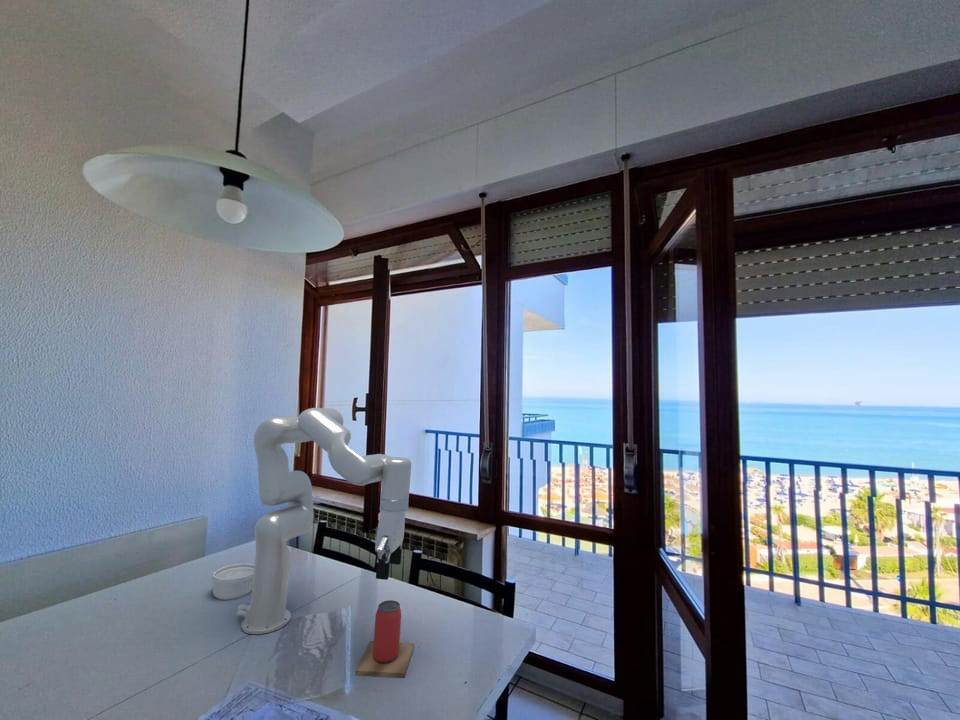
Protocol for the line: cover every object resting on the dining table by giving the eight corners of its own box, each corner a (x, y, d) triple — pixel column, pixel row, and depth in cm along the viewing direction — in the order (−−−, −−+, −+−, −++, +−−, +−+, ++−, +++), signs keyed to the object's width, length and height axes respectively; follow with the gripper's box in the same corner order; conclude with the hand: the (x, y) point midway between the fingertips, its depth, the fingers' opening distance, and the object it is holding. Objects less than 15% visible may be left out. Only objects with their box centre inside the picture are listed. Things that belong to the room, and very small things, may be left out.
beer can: (392, 666, 94) (395, 613, 95) (367, 661, 95) (371, 609, 97) (402, 650, 100) (405, 601, 102) (379, 646, 101) (382, 597, 103)
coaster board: (354, 675, 91) (355, 670, 91) (369, 644, 103) (370, 641, 103) (404, 677, 91) (404, 673, 91) (413, 647, 103) (413, 643, 103)
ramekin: (263, 591, 131) (266, 569, 132) (221, 606, 120) (224, 582, 121) (244, 580, 138) (246, 560, 139) (202, 594, 127) (205, 571, 128)
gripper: (391, 496, 113) (386, 557, 110) (368, 511, 95) (361, 583, 93) (416, 498, 112) (411, 560, 109) (397, 513, 95) (391, 587, 92)
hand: (388, 570), depth 101 cm, fingers open, 9 cm apart
